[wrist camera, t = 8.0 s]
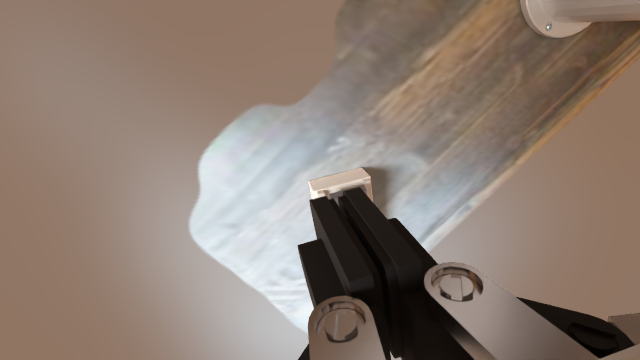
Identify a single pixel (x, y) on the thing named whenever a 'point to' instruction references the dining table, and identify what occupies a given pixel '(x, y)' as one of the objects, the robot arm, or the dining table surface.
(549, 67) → the dining table surface
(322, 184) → the rocker switch panel
